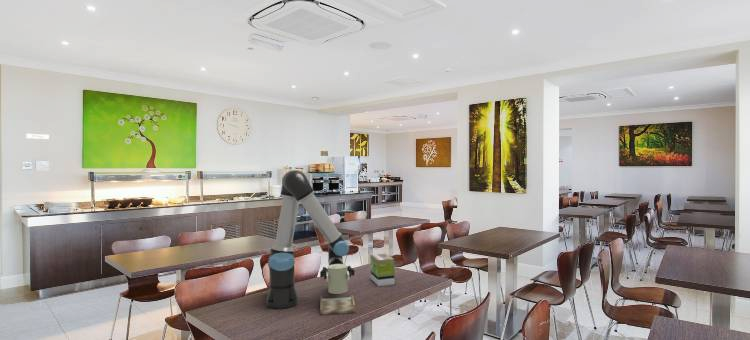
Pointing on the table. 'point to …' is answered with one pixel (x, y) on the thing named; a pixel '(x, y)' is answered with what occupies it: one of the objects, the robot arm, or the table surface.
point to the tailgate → (336, 299)
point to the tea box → (382, 269)
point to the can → (337, 278)
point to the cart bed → (337, 306)
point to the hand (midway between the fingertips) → (338, 278)
